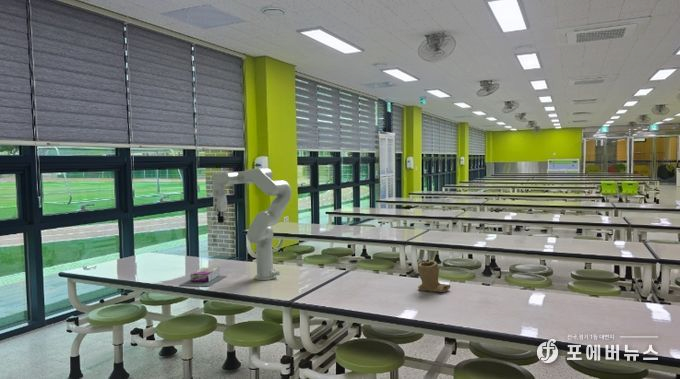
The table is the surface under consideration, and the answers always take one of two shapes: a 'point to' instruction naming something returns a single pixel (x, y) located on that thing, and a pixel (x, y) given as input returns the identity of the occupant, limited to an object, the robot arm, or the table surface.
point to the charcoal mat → (203, 284)
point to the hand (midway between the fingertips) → (220, 222)
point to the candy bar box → (205, 274)
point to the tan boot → (430, 277)
